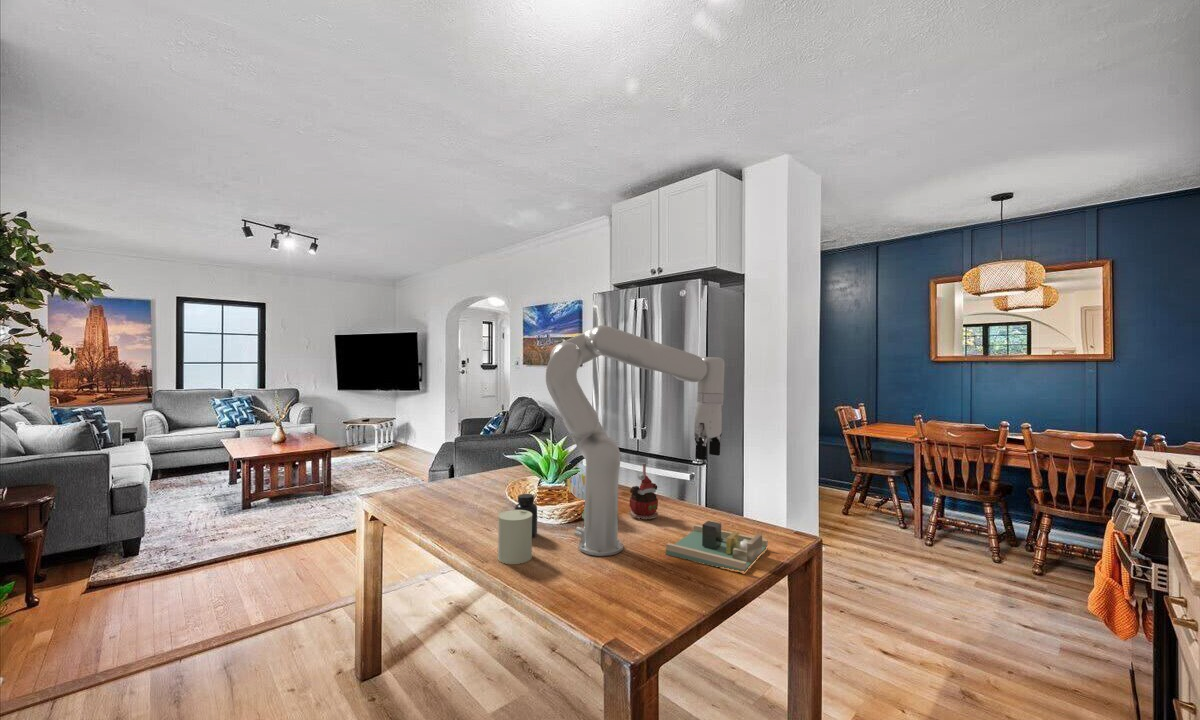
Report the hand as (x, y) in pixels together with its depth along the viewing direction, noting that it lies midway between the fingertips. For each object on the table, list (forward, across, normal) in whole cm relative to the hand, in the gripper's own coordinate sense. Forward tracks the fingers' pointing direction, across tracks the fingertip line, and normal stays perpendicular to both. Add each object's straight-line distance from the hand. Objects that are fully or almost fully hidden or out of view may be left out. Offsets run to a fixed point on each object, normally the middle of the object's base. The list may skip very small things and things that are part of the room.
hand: (707, 457), depth 147 cm
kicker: (+24, +5, +6) cm, 25 cm away
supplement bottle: (+27, +28, -45) cm, 60 cm away
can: (+27, +42, -36) cm, 61 cm away
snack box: (+26, -1, -46) cm, 53 cm away
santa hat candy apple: (+26, -9, -26) cm, 38 cm away
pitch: (+25, +5, +6) cm, 26 cm away
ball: (+22, +4, +14) cm, 26 cm away
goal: (+24, +4, +14) cm, 28 cm away
